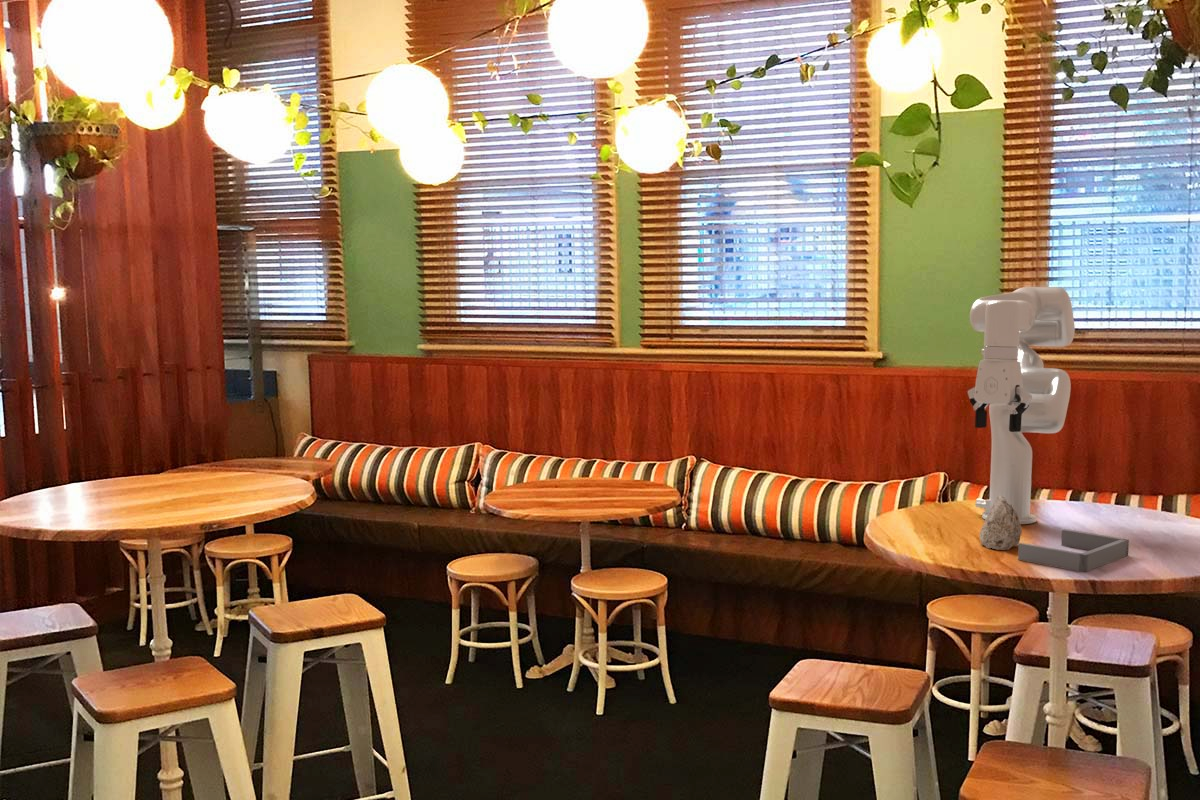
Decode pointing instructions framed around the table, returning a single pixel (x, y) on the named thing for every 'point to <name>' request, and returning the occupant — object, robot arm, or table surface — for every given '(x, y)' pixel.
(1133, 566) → the table surface
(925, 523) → the table surface
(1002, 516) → the rock
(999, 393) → the robot arm
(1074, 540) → the frame
